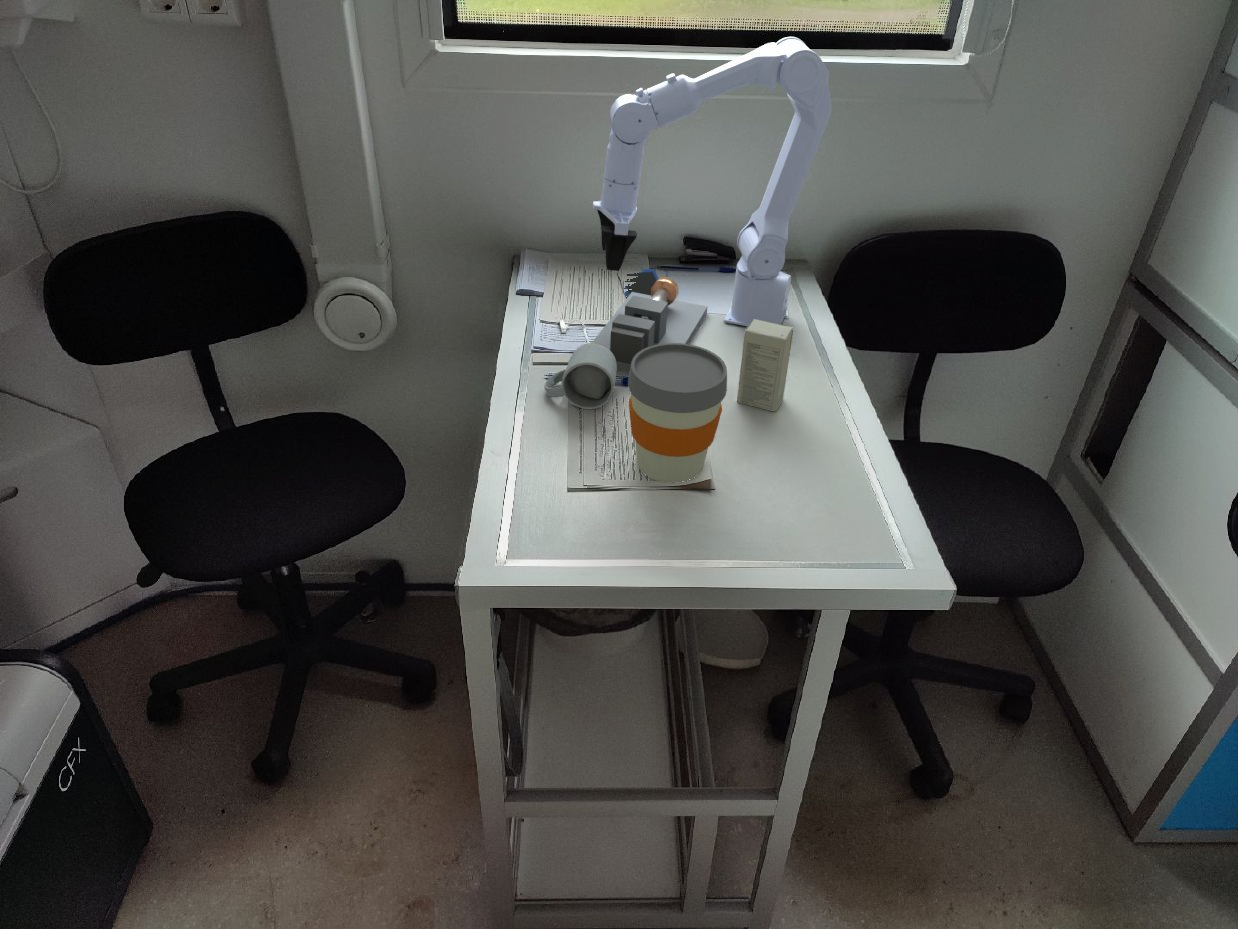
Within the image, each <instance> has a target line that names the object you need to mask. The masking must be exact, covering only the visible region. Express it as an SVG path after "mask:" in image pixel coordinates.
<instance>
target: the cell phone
mask: <svg viewBox="0 0 1238 929" xmlns="http://www.w3.org/2000/svg"><path fill="white" fill-rule="evenodd" d="M637 269H638V268H637ZM638 270H642V272H638V273H637V274H636V273H634V274H627V276H638V277H636V278H633V279H630V281H628V280H629V279H627V281H625V282H636V283H634V284H632V285H631V286H629V285H630V284H628V286H625V288H624V289H628V291H626V292H625V293H624V296H625V295H626V296H627V298H628V296H629V295H630V294H631V292H635V293H640V294H645V295H650V296H651V288H652V287H653V285H654V284H655V283H656V281H657V280H658V279H660V278H659V277H658V274H657V272H656V270H655V269H654V268H653V269H652V268H645V269H644V268H642V269H638ZM643 270H644V271H643ZM629 289H632V290H629ZM626 296H625V297H626Z"/></svg>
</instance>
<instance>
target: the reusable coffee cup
mask: <svg viewBox="0 0 1238 929" xmlns="http://www.w3.org/2000/svg"><path fill="white" fill-rule="evenodd" d="M627 387H628V391H629V392H630V397H629V398H628V400H629V401H628V410H629V420H630V432H631V435H632V438H633V440H634V443H635V452H636V455H635V456H636V463H637V466H638V468H639V470H640V471H641V473H643V474H644V475H645V476H647V477H648V478H650V479H652V480H654V481H657V482H661V483H666V482H672V483H671V484H676V483H675V482H681V483H683V482H682V481H685V482H688V481H687V480H689V479H691V480H693V479H694V477H695V478H696V477H698V476H699V475H700V474H701V472H702V470H703V468H704V464H705V460H706V457H707V454H708V450H709V448H710V447H711V445H712V444H713V442H714V440H715V437H716V434H717V430H718V426H719V423H720V420H721V416H722V412H723V406H722V401H723V400H724V399H725V397H726V395H727V391H728V370H727V365H726V363H725V361H724V360H723V359H722V358H721V357H720V356H719V355H717V354H716V353H715V352H713V351H711V350H708V349H707V348H704V347H701V346H697V345H694V344H690V343H689V344H683V343H664V344H658V345H653V346H650V347H647V348H645V349H643V350H641V351H640V352H638V353H637V354H636V355H635V356H634V357H633V359H632V362H631V367H630V372H628V379H627ZM697 475H698V476H697ZM689 481H690V480H689Z"/></svg>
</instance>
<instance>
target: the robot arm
mask: <svg viewBox="0 0 1238 929" xmlns="http://www.w3.org/2000/svg"><path fill="white" fill-rule="evenodd" d="M829 78H830V71H829V70H828V69H827V67H826V64H825V63H824V61H823V60H822V58H821V56H820V55H819V54H818V53H817V52H815V51H813V50H812V49H810V48H809V47H808V46H807V44H806V43H805V42H804V41H803V40H801V39H800V38H798V37H795V36H787V37H783V38H781V39H779V40H778V41H777V42H767V43H765V44H764V45H761V46H759V47H757V48H755V49H754V50H752V51H750V52H748V53H745V54H743V55H742V56H739V57H737V58H736V59H733V60H731V61H729V62H727V63H725V64H723V65H720V66H718V67H716V68H714V69H712V70H710V71H708V72H706V73H704V74H701V75H699V76H697V77H695V78H691V77H689V76H687V75H685V74H680V75H678V76H676V74H675V73H670V74H668V75H666V77H665V79H666V80H665V81H663V82H661V83H658V84H656V85H653V86H651V87H648V88H647V89H644V90H643V87H640V88H639V89H638V88H637V89H636V90H635V94H631V93H627V94H622V95H621V96H619V97H618V98H616V99H615V101H614V102H613V103H612V104H611V108H610V109H609V110H608V116H609V121H610V123H611V126H612V127H611V128H610V133H609V135H608V137H609V138H608V141H609V142H608V145H607V146H606V147H607V148H606V155H605V163H604V164H605V165H604V171H603V179H602V188H601V189H602V190H601V195H600V200H598V201H596V200H594V201H593V202H592V209H593V210H596V211H597V214H598V217H599V222H600V231H601V235H600V238H601V247H602V251H605V266H606V270H607V271H617V272H618V271H619V270H621V267H622V266H623V263H624V260H625V258H626V255H627V253H628V250H629V248H630V247H631V245H632V244H633V243H634V242H635V240H636V239H637V236H638V233H637V230H630V229H629V228H630V223H631V221H632V220H633V219H634V217H635V216H636V215H637V212H638V207H637V202H638V197H639V191H640V190H639V189H640V183H641V176H642V171H643V170H642V169H643V163H644V154H645V150H644V147H645V142H646V139H647V138H648V137H649V135H650V134H651V131H653V130H658V129H660V128H662V127H665V126H667V125H670V124H672V123H674V122H677V121H680V120H682V119H685V118H687V117H690V116H692V115H695V114H696V113H697V110H698V108H699V107H700V105H701V103H703V101H706V100H708V99H709V100H710V99H711V98H714V97H717V96H720V95H724V94H727V93H730V92H731V91H734V90H737V89H740V88H744V87H745V86H749V85H752V84H755V85H759V86H762V87H766V88H769V89H772V90H776V89H777V83H778V84H779V85H780V86H781V87H782V89H783V90H784V92H786V95H787V97H788V99H789V102H790V104H791V105H792V107H793V109H794V115H793V117H792V120H791V123H790V125H789V128H788V131H787V133H786V135H785V138H784V140H783V143H782V146H781V148H780V152H779V154H778V157H777V159H776V163H775V164H774V168H773V170H772V173H771V176H770V178H769V180H768V184H767V186H766V189H765V192H764V195H763V198H762V200H761V202H760V206H759V208H757V209H756V210H755V211H753V213H752V214H751V217H750V218H749V221H748V223H746V225H745V226H744V227H743V228H741V230H740V231H739V232H738V235H737V238H736V239H737V241H736V242H737V247H738V250H739V251H740V253H741V256H740V259H739V260H738V262H737V264H736V269H735V270H736V271H735V277H734V286H733V293H732V298H731V299H732V300H731V305H730V307H729V310H728V312H727V314H726V315H725V317H724V319H723V321H724V322H725V323H728V324H731V325H733V324H734V325H739V326H742V327H743V326H744V327H748V326H749V324H750V323H751V322H752V321H753V320H754V319H758V320H762V321H767V322H772V323H777V324H781V325H782V323H783V320H784V318H785V317H786V316H787V310H788V306H787V305H788V300H789V294H790V291H791V290H790V289H791V284H792V282H791V281H792V275H790V274H787V273H785V272H782V271H781V270H783V268H784V266H785V262H786V252H785V251H786V246H787V243H788V241H789V222H790V218H791V215H792V214H793V211H794V208H795V205H796V203H797V201H798V199H799V196H800V193H801V191H802V188H803V186H804V183H805V181H806V179H807V176H808V174H809V170H810V168H811V165H812V163H813V161H814V158H815V156H816V153H817V150H818V148H819V146H820V143H821V140H822V137H823V135H824V133H825V130H826V129H827V126H828V123H829V120H830V118H831V115H832V111H833V106H832V99H831V92H830V84H829Z"/></svg>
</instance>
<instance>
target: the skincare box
mask: <svg viewBox="0 0 1238 929" xmlns="http://www.w3.org/2000/svg"><path fill="white" fill-rule="evenodd" d="M794 329H795V328H794V327H793V326H789V325H785V324H782V323H781V324H777V323H772V322H767V321H762V320H758V319H754V320H753V321H752V322H751V323H750V324H749V326H746V327H745V329H744V334H743V336H744V337H743V344H742V352H741V361H740V362H741V363H740V371H739V378H738V389H737V397H736V398H737V399H736V402H737V403H740V404H743V405H747V406H750V407H754V408H759V409H763V410H767V411H771V412H776V411H777V410H778V409H779V407H780V405H781V404H782V401H783V399H784V396H785V388H786V382H787V375H788V369H789V362H790V357H791V350H792V343H793V337H794V336H793V335H794Z"/></svg>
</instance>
